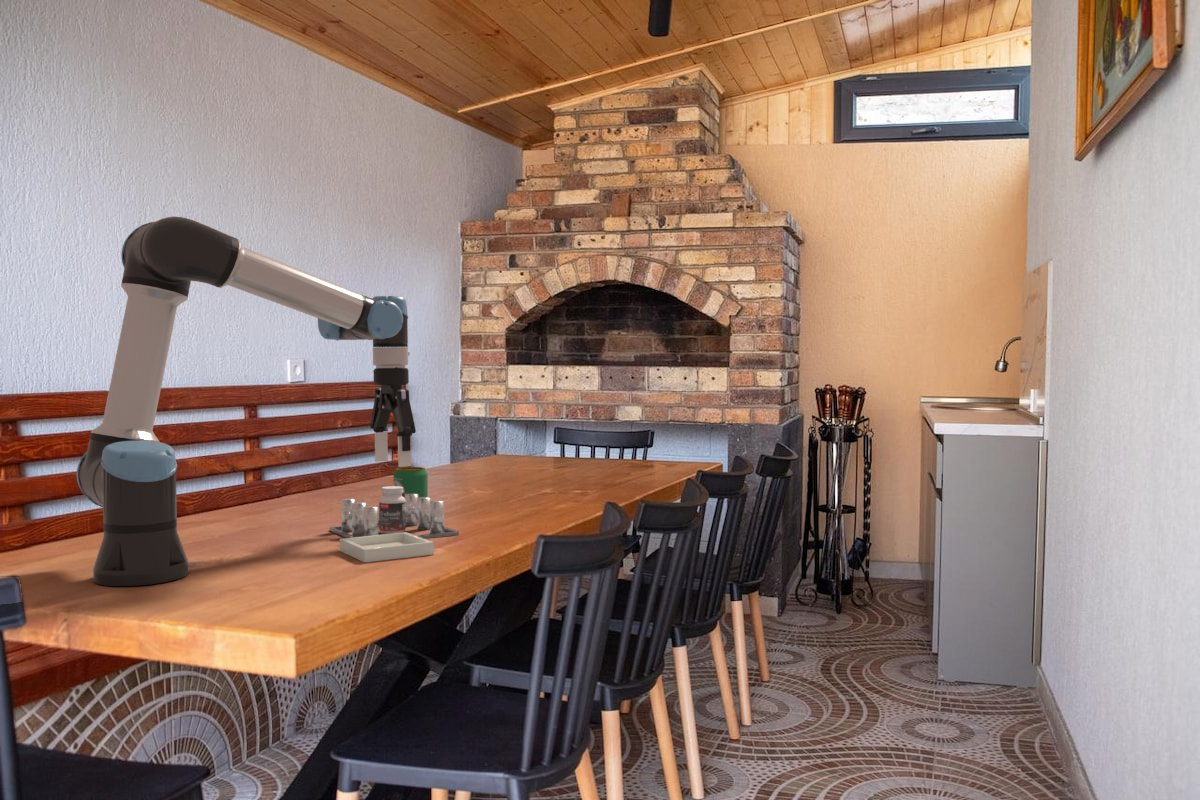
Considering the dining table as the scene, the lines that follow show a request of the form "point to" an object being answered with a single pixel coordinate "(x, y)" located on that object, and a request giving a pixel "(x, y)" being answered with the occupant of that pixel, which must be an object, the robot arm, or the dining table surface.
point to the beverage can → (412, 480)
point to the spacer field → (417, 513)
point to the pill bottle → (392, 510)
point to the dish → (386, 547)
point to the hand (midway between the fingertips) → (392, 463)
